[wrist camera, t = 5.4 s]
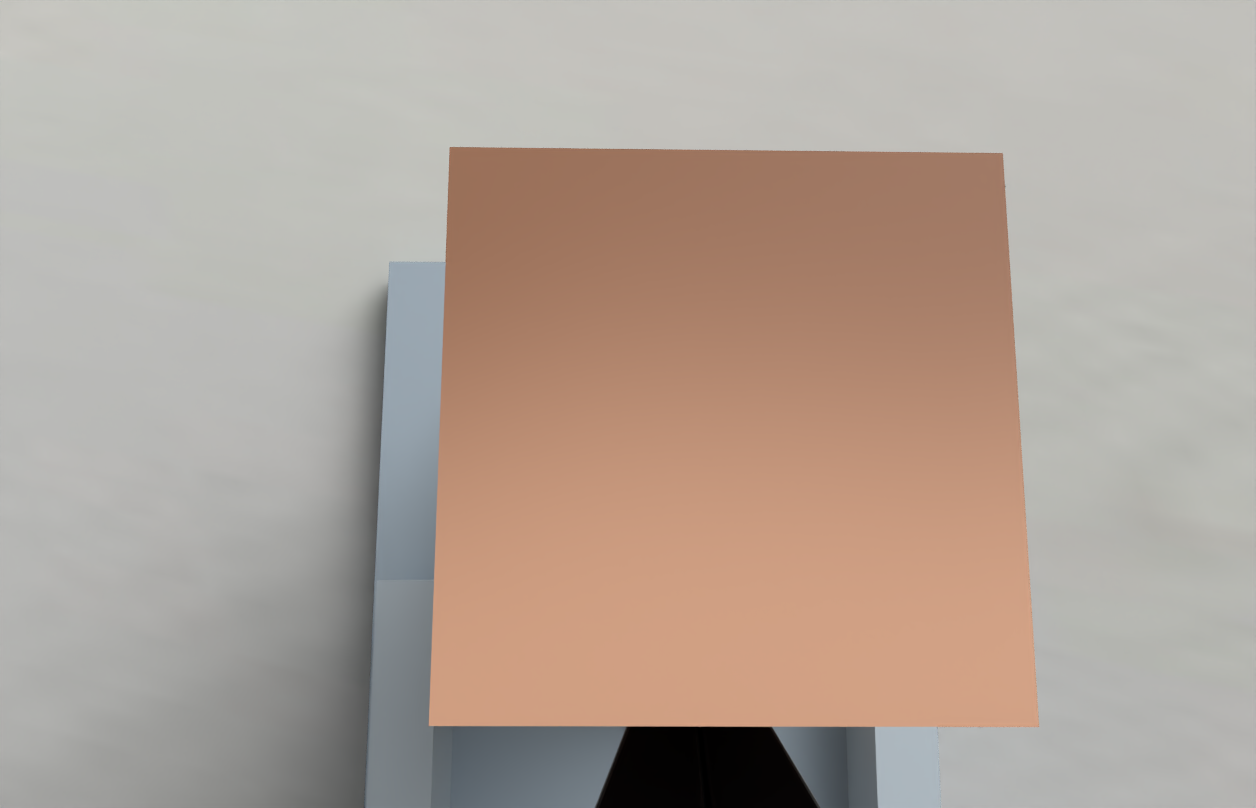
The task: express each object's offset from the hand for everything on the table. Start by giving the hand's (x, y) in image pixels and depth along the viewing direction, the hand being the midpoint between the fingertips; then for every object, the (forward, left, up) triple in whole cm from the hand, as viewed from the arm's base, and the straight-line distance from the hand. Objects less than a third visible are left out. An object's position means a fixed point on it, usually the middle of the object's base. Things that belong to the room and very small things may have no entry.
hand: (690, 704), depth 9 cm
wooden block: (0, +2, -9) cm, 9 cm away
